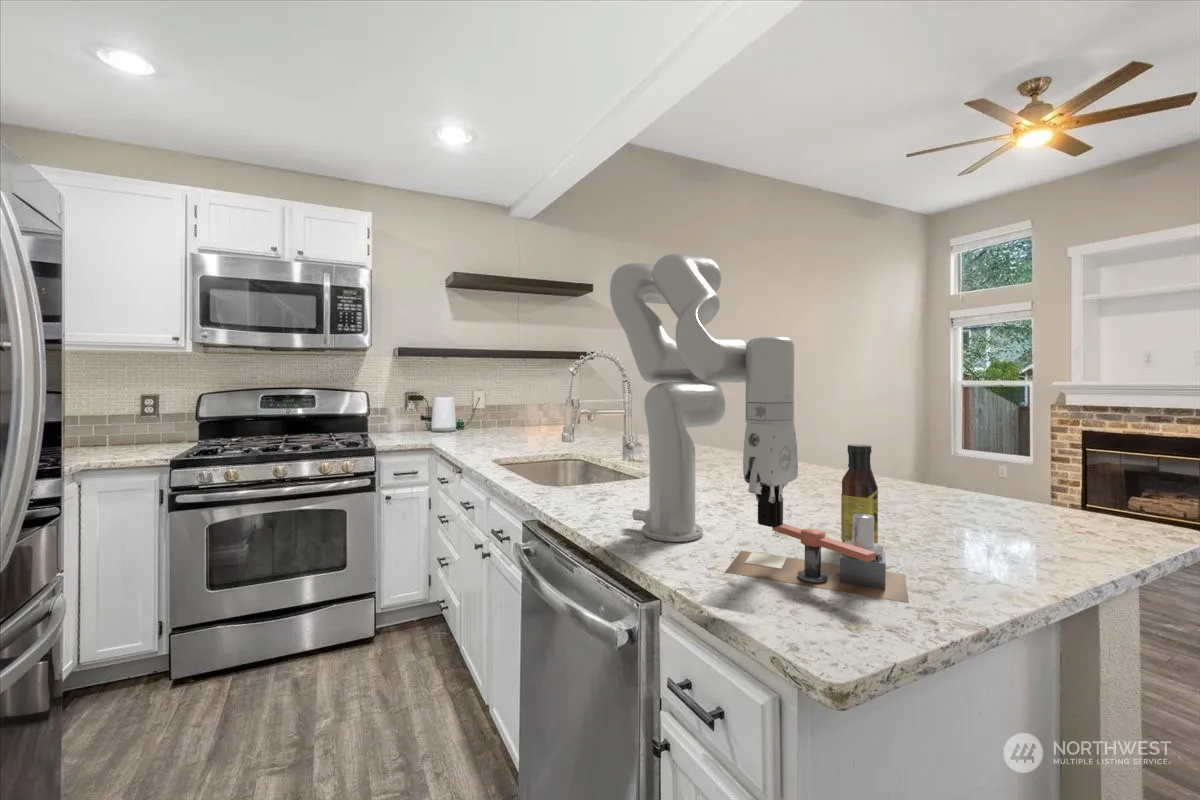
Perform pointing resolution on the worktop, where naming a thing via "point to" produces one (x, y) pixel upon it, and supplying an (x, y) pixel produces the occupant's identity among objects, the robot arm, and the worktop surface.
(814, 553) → the pivot post
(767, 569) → the board
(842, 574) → the block
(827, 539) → the lever
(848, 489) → the sauce bottle
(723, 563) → the worktop surface
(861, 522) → the peg
